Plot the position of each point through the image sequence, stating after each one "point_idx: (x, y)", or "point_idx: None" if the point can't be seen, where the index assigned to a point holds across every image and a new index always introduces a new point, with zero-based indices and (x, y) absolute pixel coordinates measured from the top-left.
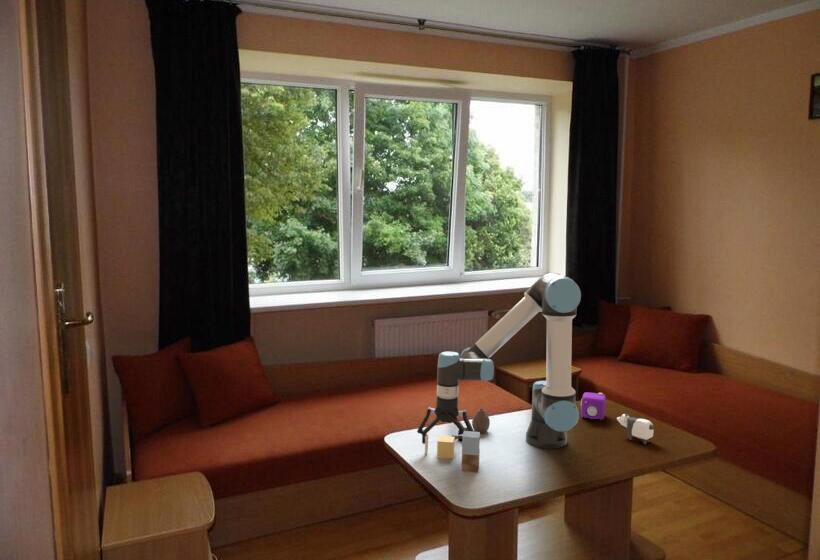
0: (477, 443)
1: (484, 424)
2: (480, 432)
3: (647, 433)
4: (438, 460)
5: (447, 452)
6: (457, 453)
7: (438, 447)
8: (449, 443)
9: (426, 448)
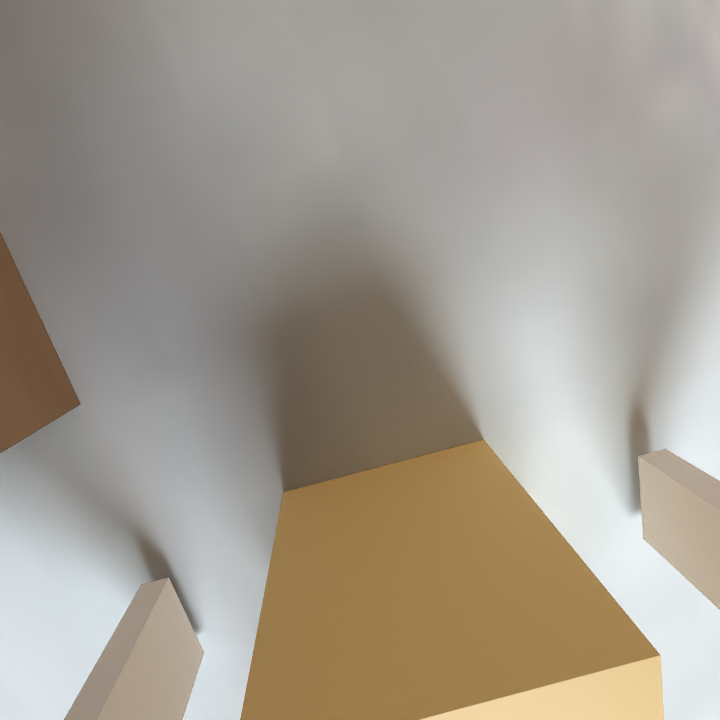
0: None
1: None
2: None
3: None
4: (437, 362)
5: (356, 527)
6: None
7: (538, 540)
8: (328, 703)
9: (711, 498)
